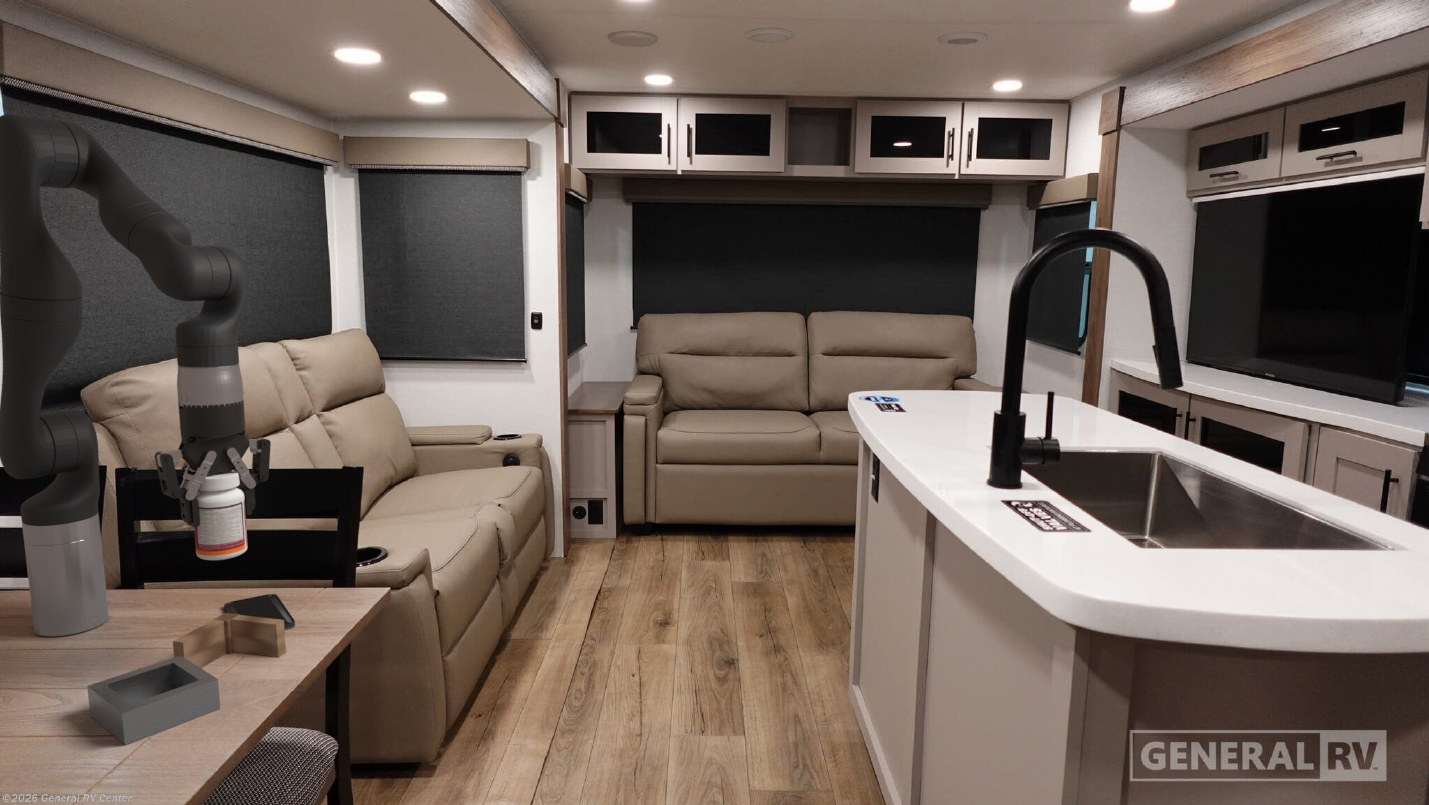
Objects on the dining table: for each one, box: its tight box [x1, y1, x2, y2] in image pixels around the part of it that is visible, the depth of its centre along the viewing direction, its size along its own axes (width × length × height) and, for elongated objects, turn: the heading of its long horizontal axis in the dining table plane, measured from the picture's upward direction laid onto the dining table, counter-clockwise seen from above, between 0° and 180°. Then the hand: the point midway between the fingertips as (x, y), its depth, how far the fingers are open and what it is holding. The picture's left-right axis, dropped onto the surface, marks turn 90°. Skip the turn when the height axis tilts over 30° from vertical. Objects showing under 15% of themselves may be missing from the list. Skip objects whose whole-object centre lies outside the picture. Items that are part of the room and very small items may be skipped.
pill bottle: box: [193, 470, 248, 561], centre depth 115 cm, size 6×6×11 cm
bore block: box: [86, 655, 221, 746], centre depth 106 cm, size 11×11×4 cm
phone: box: [223, 593, 296, 631], centre depth 135 cm, size 8×1×15 cm
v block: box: [172, 612, 287, 669], centre depth 122 cm, size 8×14×5 cm, turn 124°
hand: (219, 519), depth 116 cm, fingers closed on pill bottle, 6 cm apart
